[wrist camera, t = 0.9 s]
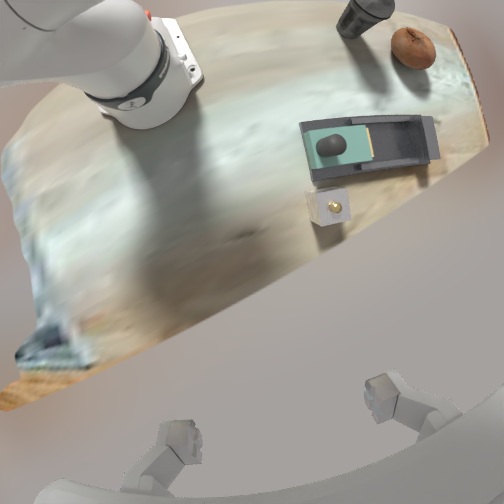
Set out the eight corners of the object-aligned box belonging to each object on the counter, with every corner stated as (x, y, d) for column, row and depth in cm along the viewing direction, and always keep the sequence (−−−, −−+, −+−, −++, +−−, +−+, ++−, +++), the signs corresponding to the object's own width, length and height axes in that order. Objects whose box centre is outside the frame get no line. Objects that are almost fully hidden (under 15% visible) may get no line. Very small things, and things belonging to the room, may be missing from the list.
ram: (303, 133, 40) (318, 125, 33) (359, 127, 41) (383, 119, 33) (311, 169, 42) (328, 167, 34) (366, 160, 42) (391, 158, 35)
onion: (380, 53, 40) (382, 25, 31) (409, 39, 37) (414, 12, 27) (410, 84, 39) (419, 59, 30) (439, 69, 36) (450, 45, 26)
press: (299, 123, 41) (309, 115, 35) (417, 115, 41) (436, 111, 35) (311, 181, 44) (323, 181, 38) (427, 163, 44) (446, 163, 38)
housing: (304, 191, 44) (318, 194, 37) (332, 186, 44) (349, 188, 37) (310, 220, 45) (324, 228, 38) (336, 214, 45) (354, 221, 39)
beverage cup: (368, 45, 37) (426, 2, 18) (336, 44, 37) (387, -9, 18) (356, 17, 35) (404, -31, 16) (324, 15, 35) (365, -42, 16)
